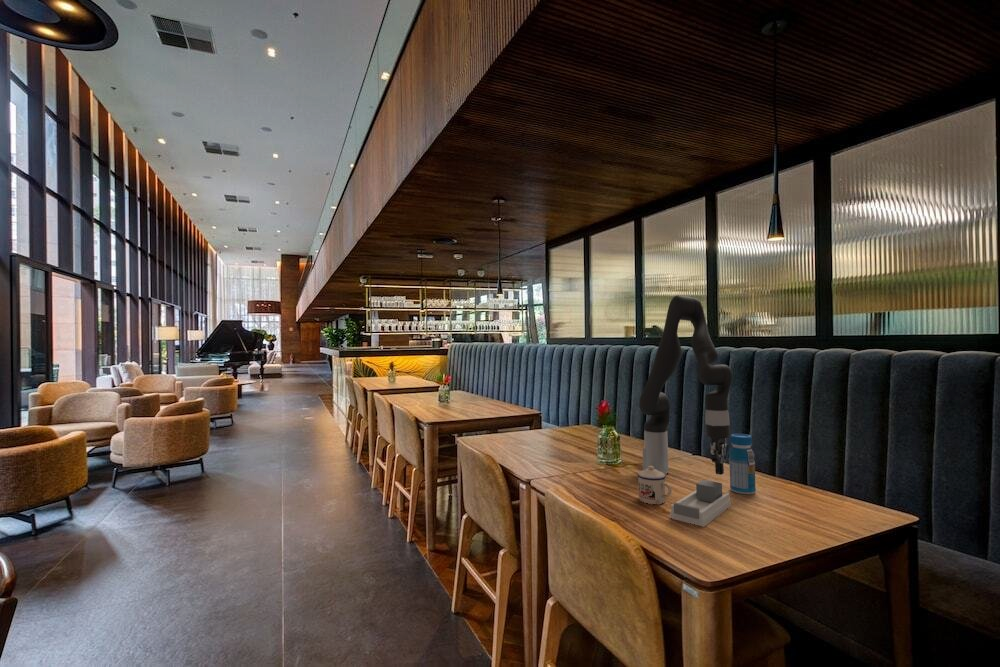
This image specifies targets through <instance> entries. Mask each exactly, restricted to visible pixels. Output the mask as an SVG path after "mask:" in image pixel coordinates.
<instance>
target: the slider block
mask: <svg viewBox="0 0 1000 667" xmlns="http://www.w3.org/2000/svg"><path fill="white" fill-rule="evenodd" d="M695 488H696V489H695V491H696V493H697V499H698V500H703V501H707V502H712V503H713V502H714V501H715V500H717V499H718V498H720V497H721V496H723V483H722V482H718V481H717V482H716V481H712V480H708V479H707V480H706V479H702V480H700V481H698V482H697V483H696V485H695Z"/></svg>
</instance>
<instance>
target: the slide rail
mask: <svg viewBox="0 0 1000 667" xmlns="http://www.w3.org/2000/svg"><path fill="white" fill-rule="evenodd" d="M731 504H732V503H731V500H730V493H727V492H725V493H724V494H722V496H721V497H720V498H718V499H717V500H715V501H714V502H713V503H712V502H707V501H703V500H698V499H697V493H696V490H694V491H692V492H690V493H689V494H688V495H686V496H684V497H682V498H681V499H679V500H677V501H675V502H674V503H672V504H670V511H669V514H670V517H669V518H670V519H671V518H672V519H671V520H676V521H680V522H683V523H688V524H690V523H691V524H690V525H694V524H695V526H698V525H699V527H701V528H702V527H703V528H705V527H706V526H707V525H708V524H709V523H711V522H712V521H713V520H715V519H716V518H717V517H719V516H721V514H723V513H724V512H725V511H726V509H727V508H728V509H729V508H731V506H732V505H731ZM728 509H727V510H728Z"/></svg>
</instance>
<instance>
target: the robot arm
mask: <svg viewBox="0 0 1000 667" xmlns="http://www.w3.org/2000/svg"><path fill="white" fill-rule="evenodd" d="M665 317H666V318H665V323H664V326H663V331H662V335H661V338H660V340H659V343H658V347H657V351H656V353H655V357H654V361H653V363H652V367H651V370H650V372H649V375H648V379H647V381H646V384H645V386H644V388H643V390H642V393H641V395H640V398H639V409H640V410H639V411H641V413H642V414H643V415H645V416H650V418H649V419H648V420H647V421H646V422H645V423H644V425H643V431H644V432H643V433H644V434H643V435H644V441H643V442H644V447H643V448H642V468H643V469H642V471H643V470H645V469H648V466H654V469H656V470H658V471H660V472H662V473H664V474H665V475H667V473H668V472H669V444H668V443H669V442H668V441H669V440H668V438H669V437H668V427H669V424H670V401H669V400H670V399H669V397H668V396H667V394H666V393H664V392H662V389H663V387H664V385H665V384H666V382H668V380H669V379H670V378H671V377H672V375H673V374H675V371H676V370H677V368H678V366H679V364H680V363H679V362H680V360H681V358H682V354H683V351H682V345H681V343H680V340H679V336H678V329H679V324H680V323H681V322H680V321H687V322H688V321H689V322H690V323H691V324H692V326H693V328H694V329H693V333H692V336H691V342H690V343H691V344H690V345H691V348H692V351H693V353H694V355H695V358H696V360H697V362H696V363H697V371H698V372H697V375H698V380H699V381H700V383H702V384H703V385H704V386H716V389H715V390H713V391H710V392H707V393H705V395H704V401H705V405H704V406H705V407H704V408H705V414H704V415H705V416H704V420H705V436H706V437H708V438H710V439H711V440H710V448H708V452H707V453H708V455H709V457H710V460H711V462H712V463H714V470H715V475H723V474H724V473H725V471H724V463H725V461H726V460H727V455H728V452H729V450H728V449H729V444H728V443H727V442H726V439H730V438H731V430H730V429H731V424H730V413H729V402H728V398H729V394H730V388H731V385H732V382H733V372H732V369H731V368H730V366H729V365H727V364H714V363H715V362H716V361H717V360H718V359H719V355H718V352H717V350H716V347H715V344H714V343H713V341H712V339H711V335H710V332H709V329H708V325H707V320H706V316H705V311H704V307H703V305H702V302H701V301H700V299H698V298H696V297H694V296H688V295H687V296H686V295H679V294H678V295H675V296H673V297H672V299H671V300H670V302H669V305H668V310H667V312H666V316H665ZM668 474H669V473H668Z"/></svg>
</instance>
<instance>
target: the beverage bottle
mask: <svg viewBox="0 0 1000 667" xmlns="http://www.w3.org/2000/svg"><path fill="white" fill-rule="evenodd" d="M730 444H731V445H732V446H731V447H730V449H729V450H728V454H729V458H728V463H729V482H730V484H729V485H730V486H729V489H730V490H731V491H732V492H734V493H735V494H741V495H753V494H755V493H756V492H757V491H756V490H757V488H756V460H755V459H754V458H755V456H756V454H755V452H754V451H753V450H754V449H752V447H751V446H752V445H753V438H752V435H750V434H746V433H745V434H744V433H732V434H730Z"/></svg>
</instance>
